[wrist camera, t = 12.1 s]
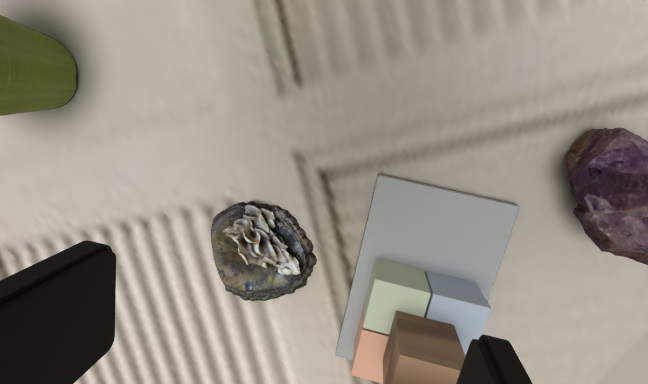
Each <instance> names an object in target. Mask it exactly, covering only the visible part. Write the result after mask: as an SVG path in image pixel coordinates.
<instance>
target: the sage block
mask: <svg viewBox="0 0 648 384" xmlns="http://www.w3.org/2000/svg"><path fill="white" fill-rule="evenodd" d="M430 295H431V292H430V288H429V285H428V282H427V278H426V275H425V272H424V270H422V269H418V268H414V267H410V266H406V265H402V264H398V263H394V262H390V261H386V260H382V259H378V258H375V262H374V266H373V270H372V274H371V278H370V282H369V286H368V290H367V294H366V298H365V304H364V318H363V328H366V329H370V330H374V331H377V332H381V333H385V334H390V330H391V326H392V323H393V319H394V315H395V311H396V310H397V311H401V312H405V313H409V314H413V315H417V316H421V317H424V315H425V312H426V308H427V305H428V302H429V298H430Z"/></svg>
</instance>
